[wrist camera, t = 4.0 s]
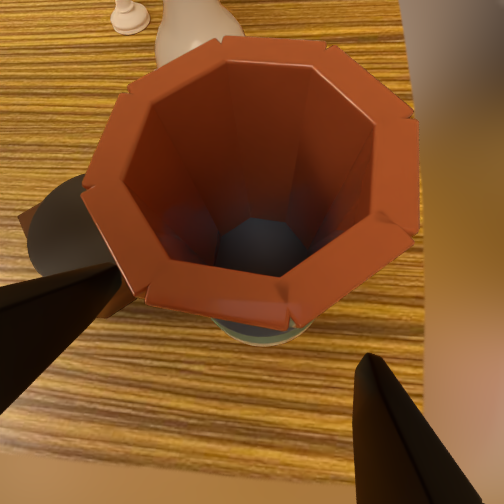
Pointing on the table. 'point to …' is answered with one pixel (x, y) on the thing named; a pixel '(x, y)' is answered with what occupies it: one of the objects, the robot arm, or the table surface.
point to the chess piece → (129, 17)
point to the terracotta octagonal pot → (255, 177)
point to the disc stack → (260, 270)
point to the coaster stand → (68, 238)
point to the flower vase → (191, 27)
